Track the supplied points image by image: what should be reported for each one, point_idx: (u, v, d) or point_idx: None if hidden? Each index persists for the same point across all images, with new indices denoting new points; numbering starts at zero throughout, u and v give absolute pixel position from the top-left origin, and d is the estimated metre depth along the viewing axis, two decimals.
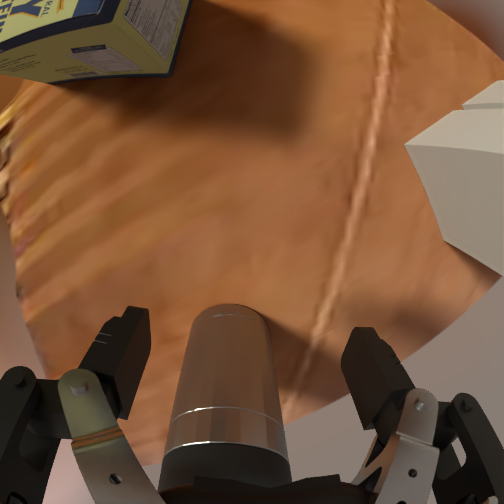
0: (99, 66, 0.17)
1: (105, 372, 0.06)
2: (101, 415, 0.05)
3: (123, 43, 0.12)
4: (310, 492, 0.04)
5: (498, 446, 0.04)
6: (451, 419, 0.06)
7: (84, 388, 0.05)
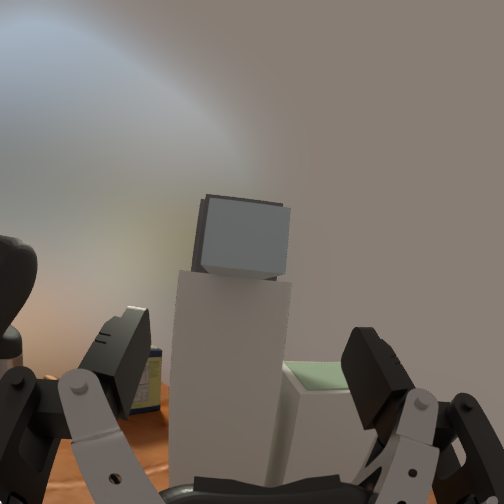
0: None
1: (105, 372, 0.06)
2: (101, 415, 0.05)
3: None
4: (310, 492, 0.04)
5: (498, 446, 0.04)
6: (451, 419, 0.06)
7: (84, 388, 0.05)
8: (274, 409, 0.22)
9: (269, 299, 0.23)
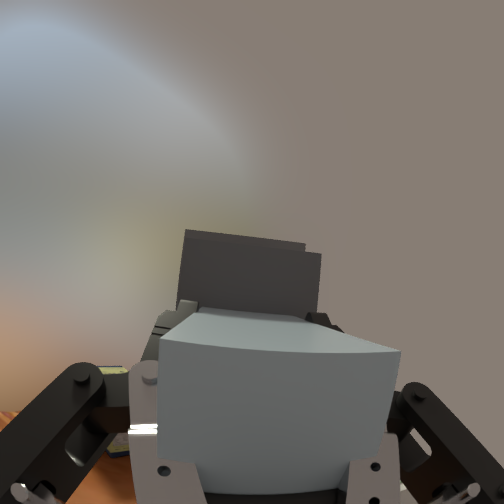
0: None
1: None
2: None
3: None
4: (310, 492, 0.04)
5: (464, 430, 0.05)
6: (400, 409, 0.06)
7: (156, 380, 0.06)
8: None
9: None
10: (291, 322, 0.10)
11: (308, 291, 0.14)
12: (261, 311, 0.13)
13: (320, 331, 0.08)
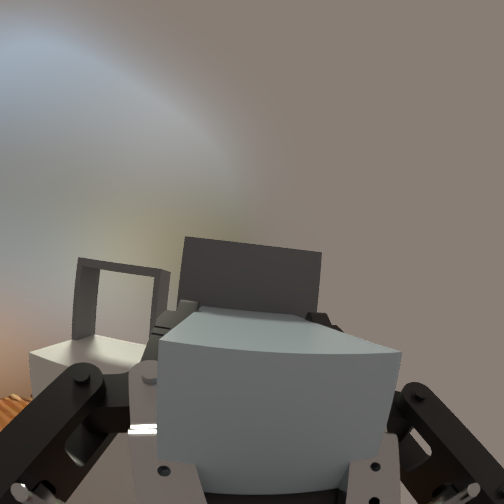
0: None
1: None
2: None
3: None
4: (310, 492, 0.04)
5: (464, 430, 0.05)
6: (400, 409, 0.06)
7: (156, 380, 0.06)
8: (133, 492, 0.15)
9: None
10: (291, 321, 0.10)
11: (308, 290, 0.14)
12: (261, 310, 0.13)
13: (320, 331, 0.08)
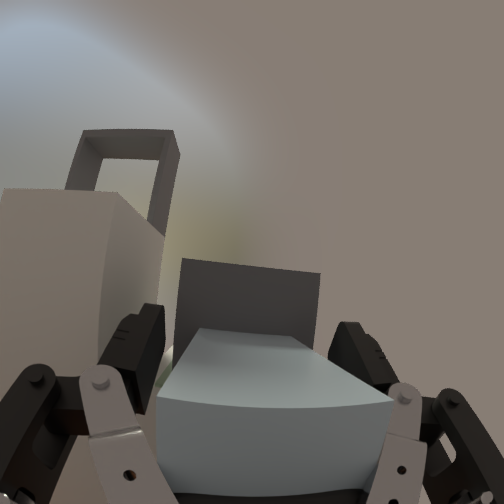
0: None
1: (126, 367, 0.07)
2: (125, 409, 0.05)
3: None
4: None
5: (489, 440, 0.04)
6: (436, 415, 0.06)
7: (106, 384, 0.06)
8: None
9: (83, 219, 0.13)
10: (288, 350, 0.10)
11: (306, 311, 0.14)
12: (259, 332, 0.13)
13: (317, 366, 0.07)
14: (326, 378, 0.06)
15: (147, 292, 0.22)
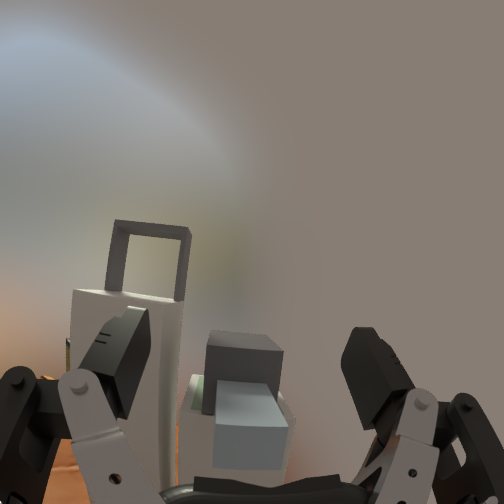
0: None
1: (105, 372, 0.06)
2: (101, 415, 0.05)
3: None
4: (310, 492, 0.04)
5: (499, 446, 0.04)
6: (451, 419, 0.06)
7: (84, 388, 0.05)
8: (156, 421, 0.22)
9: None
10: (261, 397, 0.20)
11: (275, 371, 0.24)
12: (249, 381, 0.23)
13: (270, 408, 0.18)
14: (270, 415, 0.16)
15: (175, 344, 0.32)
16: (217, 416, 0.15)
